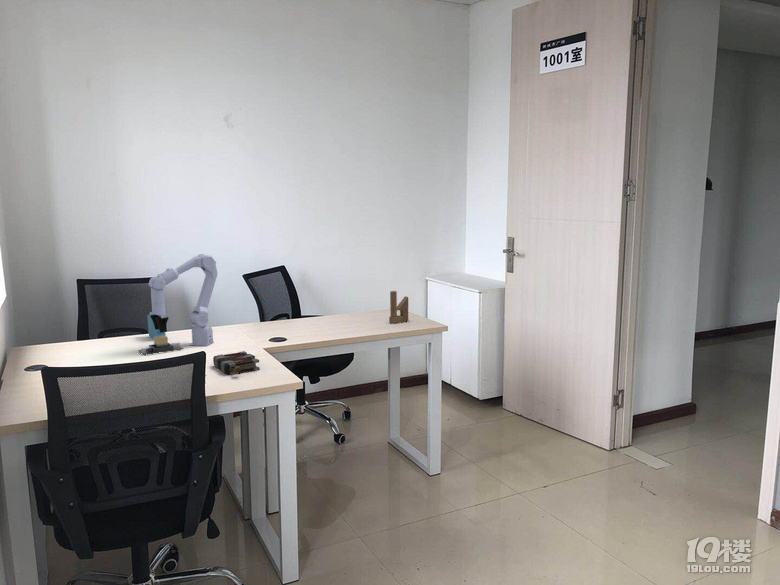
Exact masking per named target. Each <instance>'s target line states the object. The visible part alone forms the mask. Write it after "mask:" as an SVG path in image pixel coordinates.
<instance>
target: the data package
mask: <svg viewBox="0 0 780 585" xmlns="http://www.w3.org/2000/svg"><path fill="white" fill-rule="evenodd" d="M150 315H153V314H150V313H148V314H147V316H146V318H147V328H148V336H150V337H151V339H152V340H154V337H155V336H162V335H165V336H167V335H166V331H165V332H160V331H159V329H157V330H155V327H154V323H153V321H152V319H151V317H150ZM150 337H149V338H150Z"/></svg>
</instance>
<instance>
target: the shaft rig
mask: <svg viewBox="0 0 780 585" xmlns="http://www.w3.org/2000/svg"><path fill="white" fill-rule="evenodd" d="M181 349H184V347H182V346H181V344H180V342H174V343H170V342H168V346H166V347H160V348H155V347H154V343H153V344H149V345H148V346H147V347H145V348H141V349H138V350H137V352H138V351H139V352H140V354H141V353H142V354H143V355H144V356H147V355H146V354H151V355H154V354H153V353H158V354H160V353H159V352H164V353H168V352H167V351H171V352H175V351H174V350H177V351H182V350H181ZM139 352H138V353H139ZM142 354H141V355H142ZM143 355H142V356H143Z"/></svg>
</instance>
